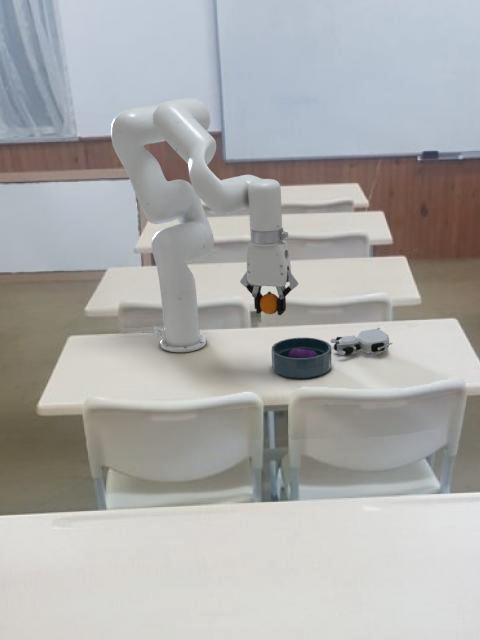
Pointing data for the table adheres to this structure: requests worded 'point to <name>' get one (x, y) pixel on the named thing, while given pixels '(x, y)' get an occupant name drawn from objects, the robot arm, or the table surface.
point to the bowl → (301, 366)
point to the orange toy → (269, 303)
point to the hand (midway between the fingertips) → (270, 311)
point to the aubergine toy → (302, 353)
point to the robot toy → (362, 342)
